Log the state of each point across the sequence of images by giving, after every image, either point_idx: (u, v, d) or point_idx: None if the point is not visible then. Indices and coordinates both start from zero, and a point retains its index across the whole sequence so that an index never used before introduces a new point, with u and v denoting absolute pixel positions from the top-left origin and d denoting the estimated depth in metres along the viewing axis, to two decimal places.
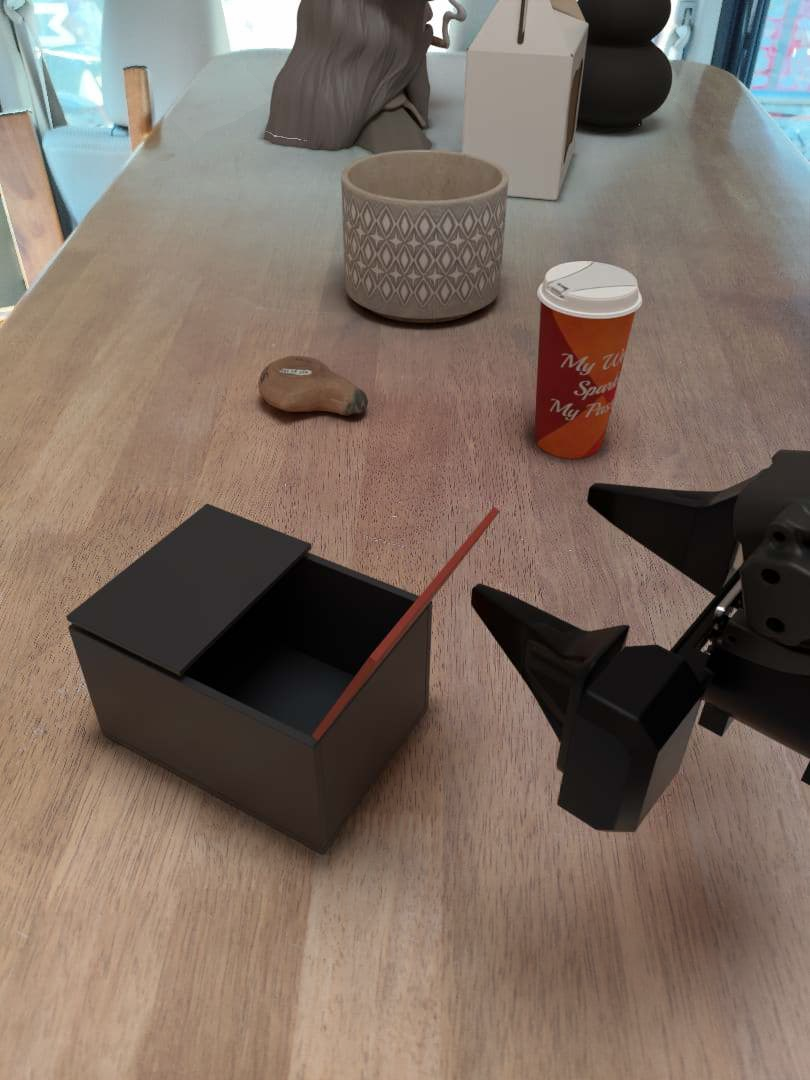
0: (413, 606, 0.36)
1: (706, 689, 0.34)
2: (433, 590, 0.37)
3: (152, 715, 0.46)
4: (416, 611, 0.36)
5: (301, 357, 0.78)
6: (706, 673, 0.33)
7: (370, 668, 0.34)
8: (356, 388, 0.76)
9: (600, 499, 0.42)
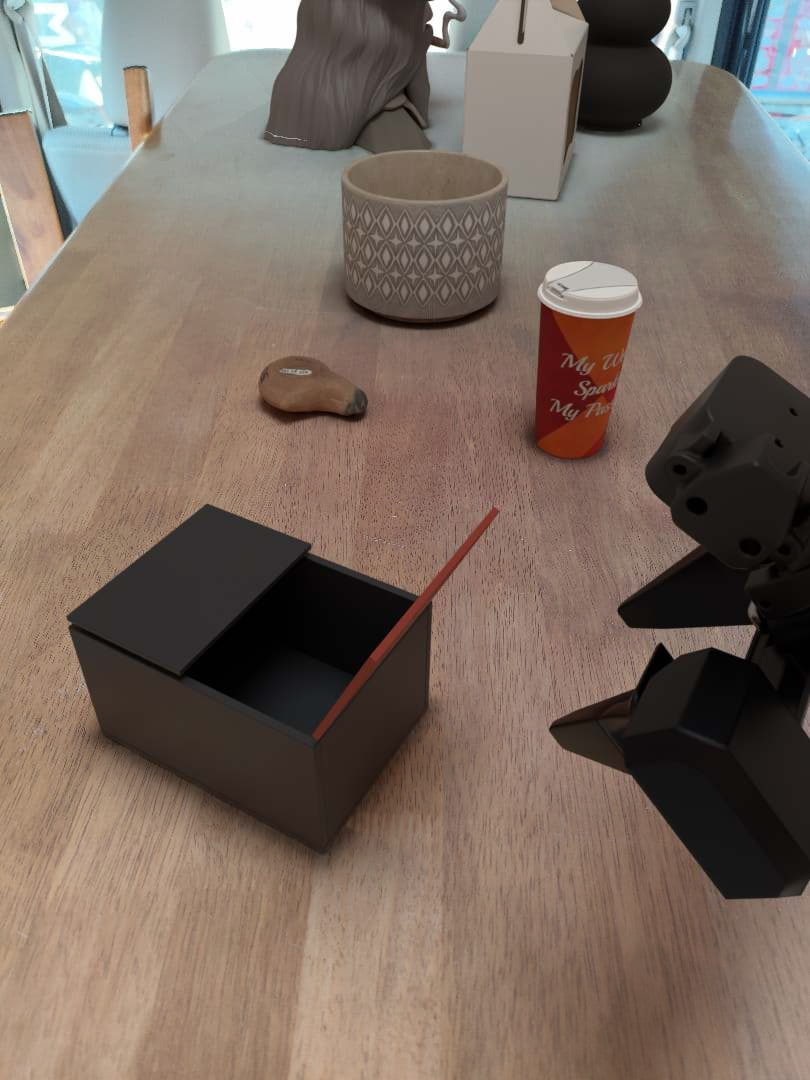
0: (413, 606, 0.36)
1: (805, 677, 0.28)
2: (433, 590, 0.37)
3: (152, 715, 0.46)
4: (416, 611, 0.36)
5: (301, 357, 0.78)
6: (784, 660, 0.27)
7: (370, 668, 0.34)
8: (356, 388, 0.76)
9: (634, 614, 0.38)
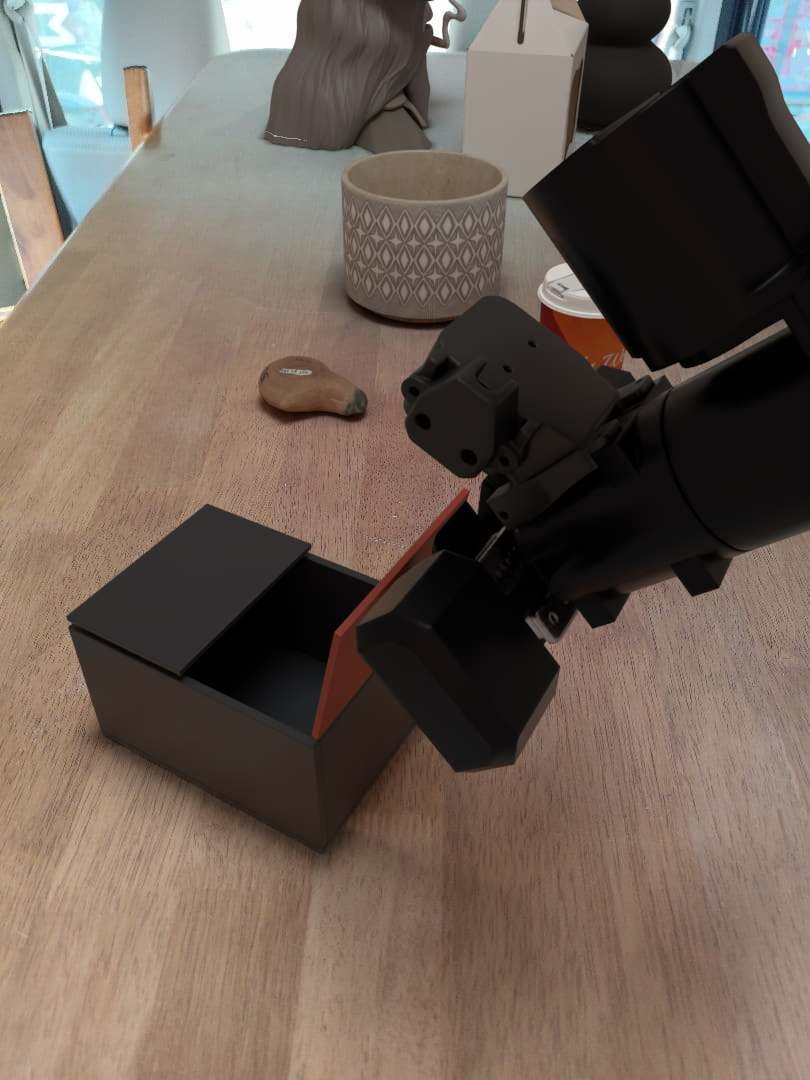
0: (379, 583, 0.36)
1: (547, 583, 0.31)
2: (400, 567, 0.37)
3: (152, 715, 0.46)
4: (382, 587, 0.36)
5: (301, 357, 0.78)
6: (526, 566, 0.31)
7: (338, 645, 0.34)
8: (356, 388, 0.76)
9: None
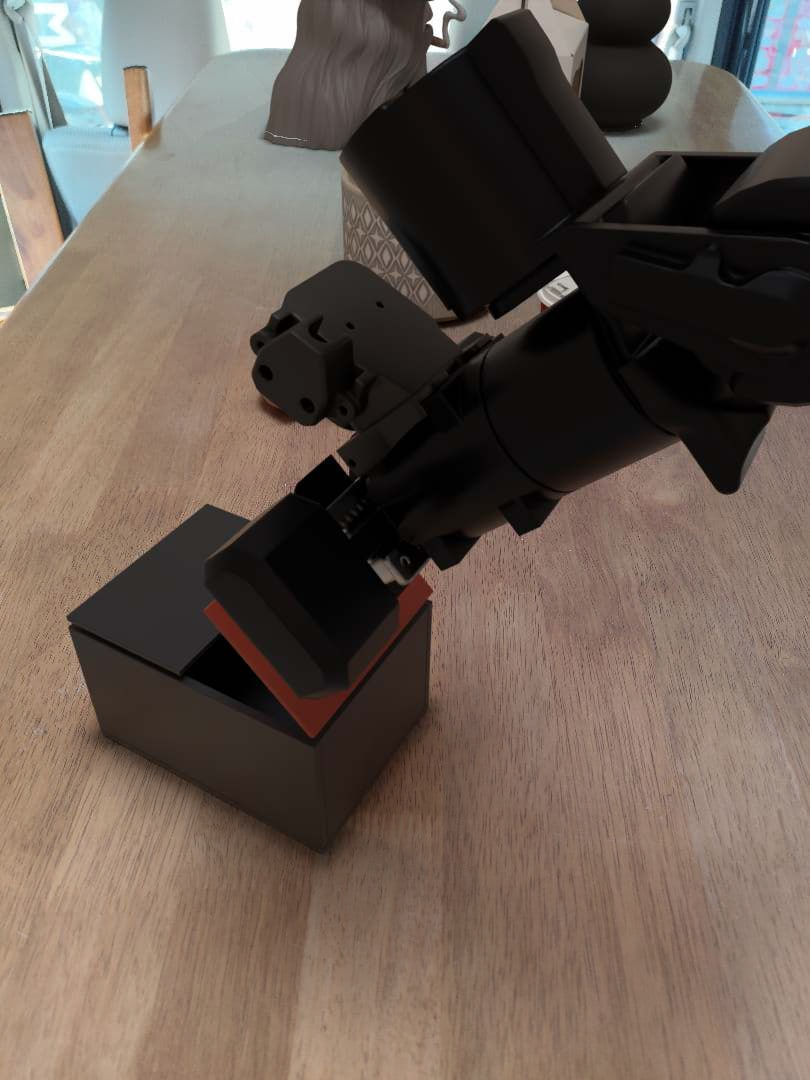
0: None
1: (396, 527, 0.33)
2: None
3: (152, 715, 0.46)
4: None
5: None
6: (376, 512, 0.33)
7: (213, 619, 0.38)
8: None
9: None
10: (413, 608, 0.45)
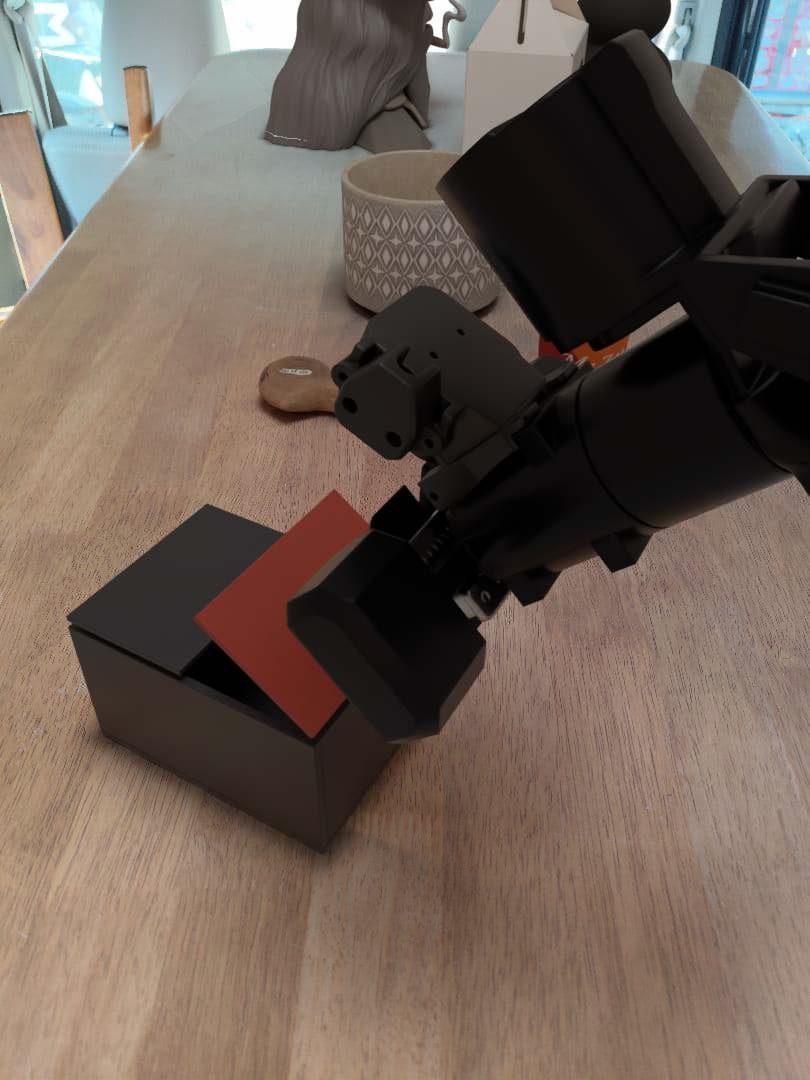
0: (239, 576, 0.41)
1: (478, 562, 0.32)
2: (259, 557, 0.42)
3: (152, 715, 0.46)
4: (240, 575, 0.41)
5: (301, 357, 0.78)
6: (457, 546, 0.32)
7: (203, 626, 0.39)
8: None
9: None
10: None
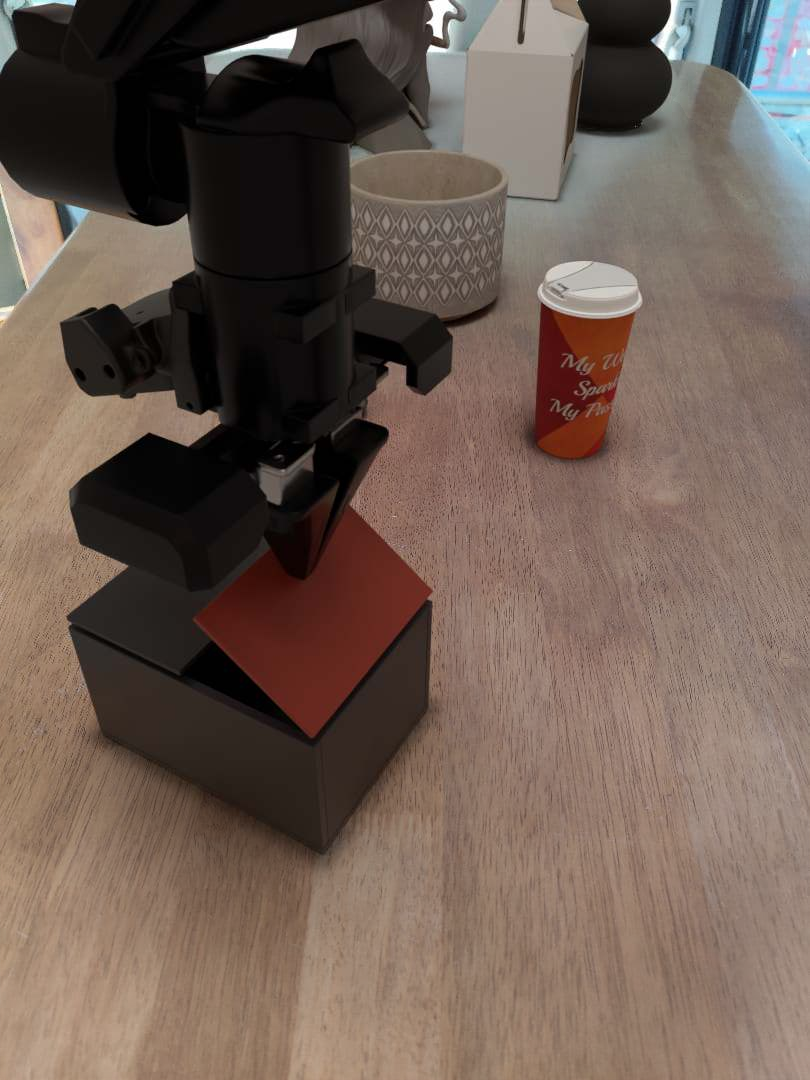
0: (239, 576, 0.41)
1: (250, 432, 0.34)
2: (259, 558, 0.42)
3: (152, 715, 0.46)
4: None
5: None
6: (228, 430, 0.35)
7: (203, 626, 0.39)
8: None
9: None
10: (412, 608, 0.45)
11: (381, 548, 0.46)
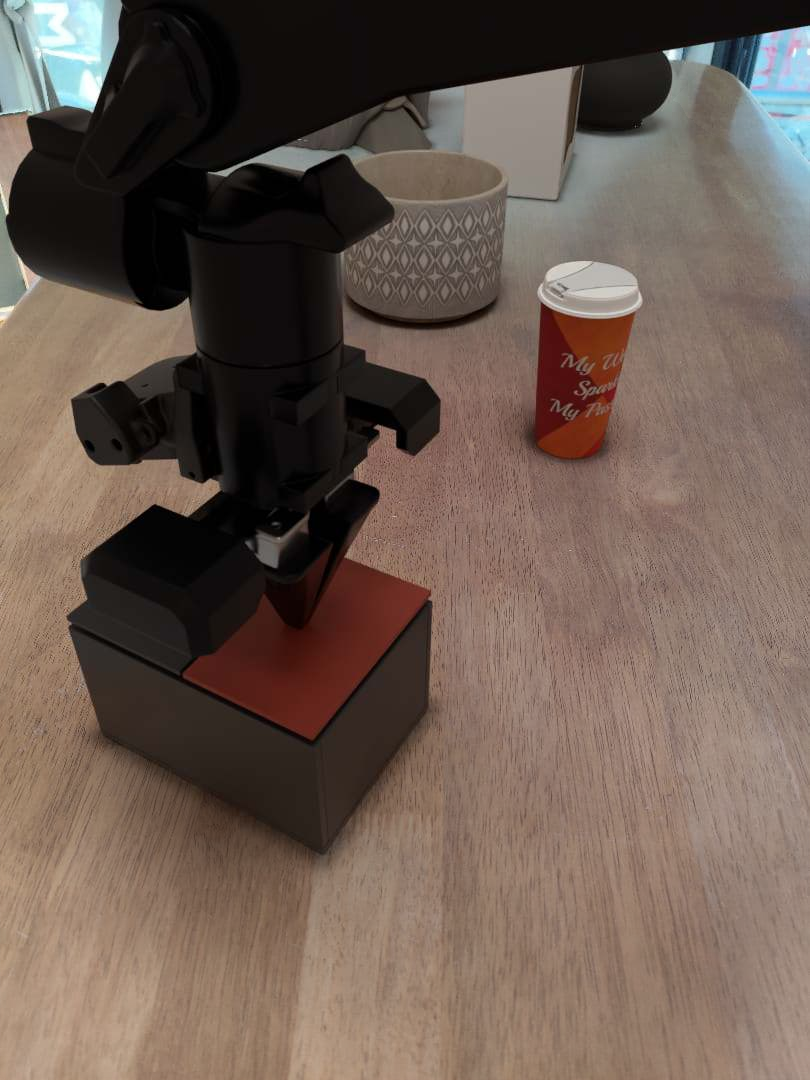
0: None
1: (249, 501, 0.37)
2: None
3: (152, 715, 0.46)
4: None
5: None
6: (228, 499, 0.37)
7: (191, 678, 0.42)
8: None
9: None
10: (409, 609, 0.45)
11: (368, 573, 0.48)
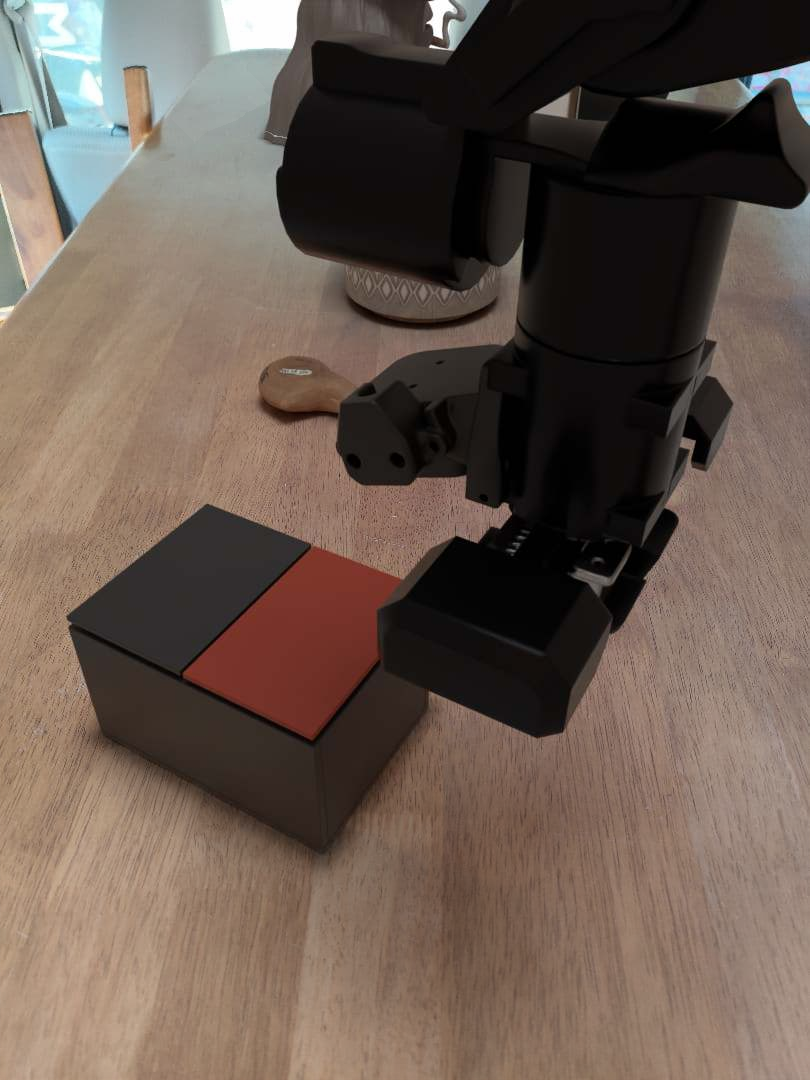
0: None
1: (564, 531, 0.29)
2: (243, 615, 0.45)
3: (152, 715, 0.46)
4: None
5: (301, 357, 0.78)
6: (534, 529, 0.30)
7: (191, 678, 0.42)
8: (356, 388, 0.76)
9: None
10: None
11: (368, 573, 0.48)
